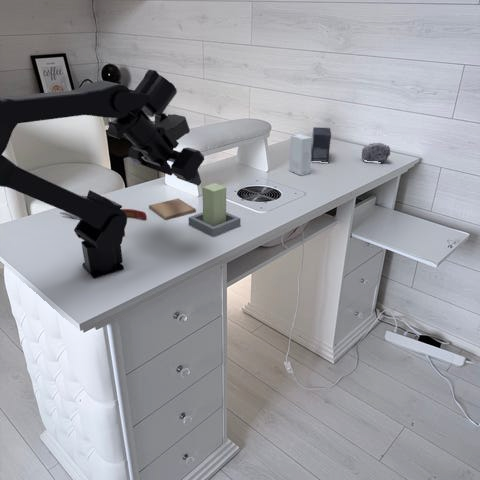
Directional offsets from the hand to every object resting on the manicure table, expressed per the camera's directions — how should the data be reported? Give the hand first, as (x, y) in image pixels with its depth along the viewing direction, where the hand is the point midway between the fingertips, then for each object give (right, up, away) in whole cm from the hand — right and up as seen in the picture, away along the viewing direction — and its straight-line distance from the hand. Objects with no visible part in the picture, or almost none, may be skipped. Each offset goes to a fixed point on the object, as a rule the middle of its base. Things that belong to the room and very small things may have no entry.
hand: (185, 178), depth 98 cm
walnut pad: (-6, -6, +18) cm, 20 cm away
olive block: (+6, -10, +10) cm, 16 cm away
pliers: (-21, -9, +13) cm, 26 cm away
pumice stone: (+62, +15, +62) cm, 89 cm away
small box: (+41, +16, +62) cm, 76 cm away
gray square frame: (+6, -10, +10) cm, 16 cm away
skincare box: (+32, +9, +48) cm, 58 cm away
